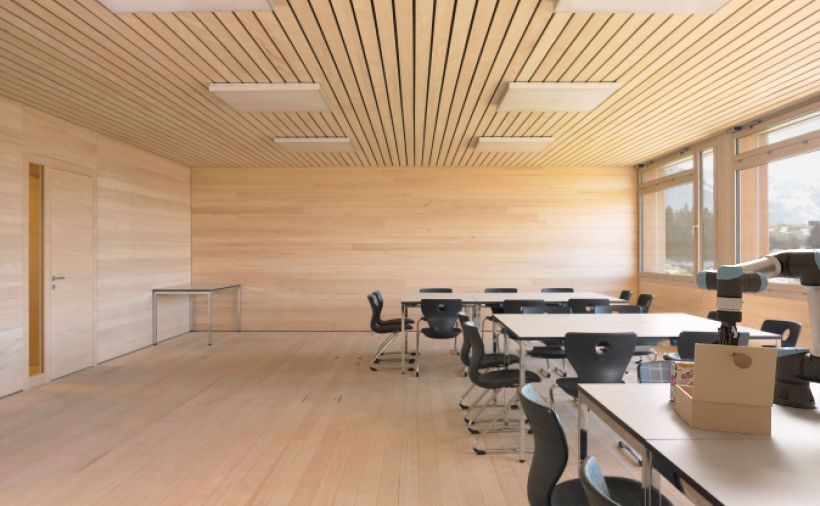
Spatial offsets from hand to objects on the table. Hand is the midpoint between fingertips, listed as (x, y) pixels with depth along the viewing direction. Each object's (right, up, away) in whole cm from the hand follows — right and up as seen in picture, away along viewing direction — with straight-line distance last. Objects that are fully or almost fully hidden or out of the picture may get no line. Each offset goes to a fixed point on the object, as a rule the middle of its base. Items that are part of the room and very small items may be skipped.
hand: (727, 377), depth 166 cm
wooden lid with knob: (-1, +2, -4) cm, 4 cm away
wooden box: (+2, -18, +7) cm, 19 cm away
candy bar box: (+4, -19, +31) cm, 37 cm away
